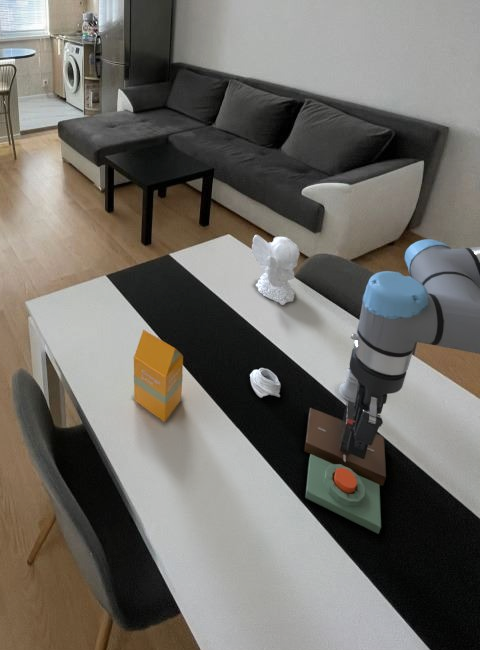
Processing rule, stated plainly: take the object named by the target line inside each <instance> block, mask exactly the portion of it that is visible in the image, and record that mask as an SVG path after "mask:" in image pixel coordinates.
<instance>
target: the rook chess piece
mask: <svg viewBox="0 0 480 650" xmlns="http://www.w3.org/2000/svg"><path fill="white" fill-rule="evenodd" d="M357 386H358V380H357V379H356V378H355V377H354V375H353V374H352V372H351V370H350V367H348V368H347V369H346V380H345V381H344V382H342V383H341V384H340V386H339V388H338V391H339V394H340V396H341V397H342V398H343V399H344V400H346V401H347V400H349V401H351V402H354V403H355V400H356V395H357Z"/></svg>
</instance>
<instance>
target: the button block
mask: <svg viewBox="0 0 480 650" xmlns="http://www.w3.org/2000/svg"><path fill="white" fill-rule="evenodd" d="M338 468H345V469H348V470H349V471H350V472H352V473H353V474H354V476H355V477H356V480H357V485H356V489H355V491H354V492H353V493H350V494H349V493H345V492H343V491H341V490H340V489H339V488H338V487H337V486H336V484H335V482H334V475H335V471H336V470H337V469H338ZM380 489H381V488H380V485H379V484H377V483H375V482H372V481H370V480H368V479H366V478H363V477H361V476H359V475H357V474H356V473H354V472H353V471H352V470H351V469H350V468H348V467H345V466H343V465H341V464H332V463H330V462H327V461H325V460H323V459H321V458H319V457H316V456H314V455H312V454H309V459H308V466H307V477H306V487H305V499H307V500H309V501H311V502H313V503H315V504H317V505H319V506H321V507H323V508H325V509H327V510H329V511H331V512H333V513H335V514H337V515H339V516H341V517H342V518H345V519H346V520H349V521H351V522H353V523H354V524H357V525H360V526H361V527H364V528H366V529H368V530H369V531H371V532H373V533H376V534H377V535H379V534H380V531H381V529H382V517H381V516H382V515H381V513H382V512H381V496H380V495H381V492H380V491H381V490H380Z"/></svg>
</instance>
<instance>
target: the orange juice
mask: <svg viewBox="0 0 480 650" xmlns="http://www.w3.org/2000/svg"><path fill="white" fill-rule="evenodd" d="M183 367H184V355H183V354H182V353H181V352H180V351H179V350H178V349H177V348H175V347H174V346H172V345H171V344H169V343H167V342H166V341H164V340H162V339H160V338H158V337H157V336H155V335H153V334H152V333H150V332H148V331H146V330H145V329H143V330H142V332H141V336H140V338H139V341H138V343H137V347H136V350H135V353H134V356H133V394H134V395H133V396H134V397H135V398H134V397H133V399H134V401H135V402H136V403H137V404H139V405H140V406H142V407H143V408H144V409H146V410H147V411H148V412H150V413H151V414H152V415H154V416H156V418H158V419H160V420H161V421H162V422H164V423H166V421H167V420H168V419H169V417H170V416H171V415H172V413H173V411H174V410H175V409H176V408H177V406H178V405H179V404H180V402H181V401H182V390H183V389H182V388H183V375H184V374H183V371H184V370H183V369H184V368H183Z"/></svg>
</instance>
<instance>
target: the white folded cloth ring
mask: <svg viewBox="0 0 480 650" xmlns="http://www.w3.org/2000/svg"><path fill="white" fill-rule="evenodd" d="M249 377H250V378H249V380H250V385H251V388H252V389H253V391H254V393H255V394H256V395H257V396H258V397H259V398H260V399H262V398H263V397H266V396H269V395H270V396H275V397H277V398H280V397H281V395H280V392H281V387H282V386H281V382H280V381H279V378H278V376H277V375H276V374H275V373H274V372H273V371H272V370H270V369H268V368H264V367H260V368H259V369H253V370H252V371H251V372H250V374H249Z"/></svg>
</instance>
